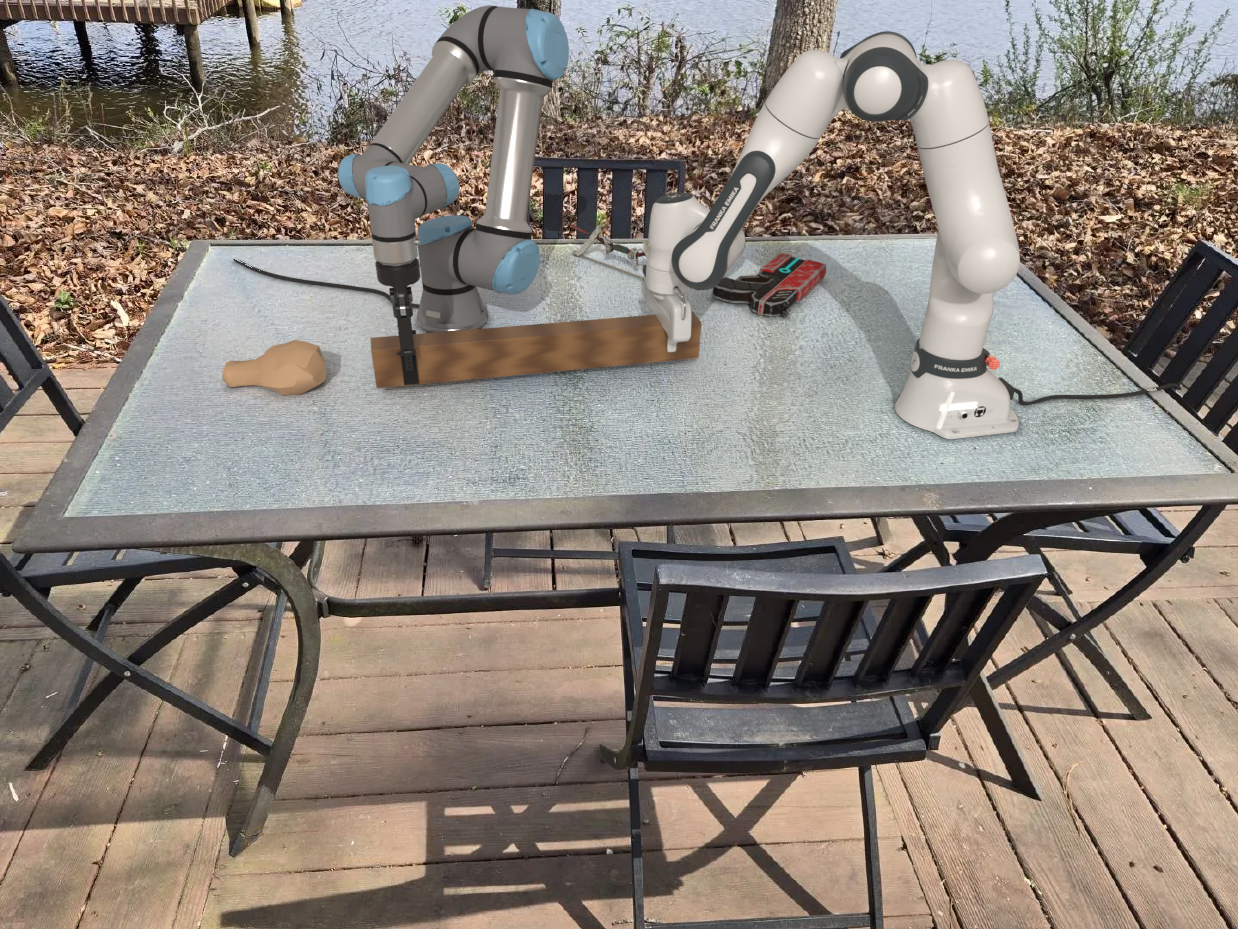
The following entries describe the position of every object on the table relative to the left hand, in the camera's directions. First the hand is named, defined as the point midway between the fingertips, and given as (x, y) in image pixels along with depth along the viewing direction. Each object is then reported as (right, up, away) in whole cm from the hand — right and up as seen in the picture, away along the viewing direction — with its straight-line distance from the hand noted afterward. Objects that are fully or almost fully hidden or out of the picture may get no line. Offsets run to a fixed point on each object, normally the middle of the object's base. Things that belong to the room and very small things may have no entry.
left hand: (410, 375), depth 168 cm
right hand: (+49, +8, +10) cm, 51 cm away
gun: (+77, +26, +49) cm, 95 cm away
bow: (+40, +33, +57) cm, 77 cm away
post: (+25, +2, +6) cm, 25 cm away
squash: (-26, -2, +3) cm, 27 cm away
